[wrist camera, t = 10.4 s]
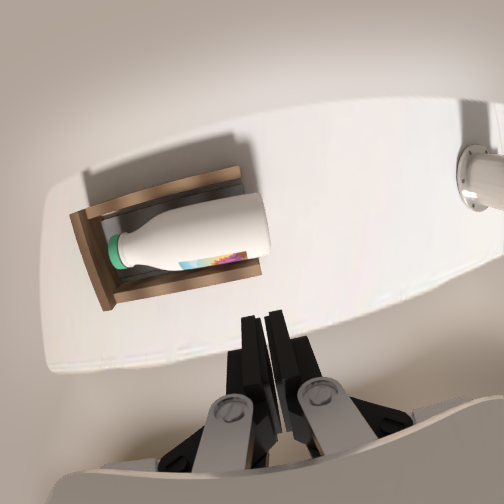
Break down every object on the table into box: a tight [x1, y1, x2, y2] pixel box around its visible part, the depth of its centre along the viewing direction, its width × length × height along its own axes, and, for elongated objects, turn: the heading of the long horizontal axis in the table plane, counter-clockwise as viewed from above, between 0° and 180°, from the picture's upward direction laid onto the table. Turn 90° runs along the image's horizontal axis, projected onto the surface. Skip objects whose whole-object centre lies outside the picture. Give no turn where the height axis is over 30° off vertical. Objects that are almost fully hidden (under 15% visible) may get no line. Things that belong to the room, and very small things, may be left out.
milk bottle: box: [108, 193, 271, 271], centre depth 34 cm, size 8×8×20 cm
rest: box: [70, 166, 262, 311], centre depth 35 cm, size 22×14×6 cm, turn 101°
